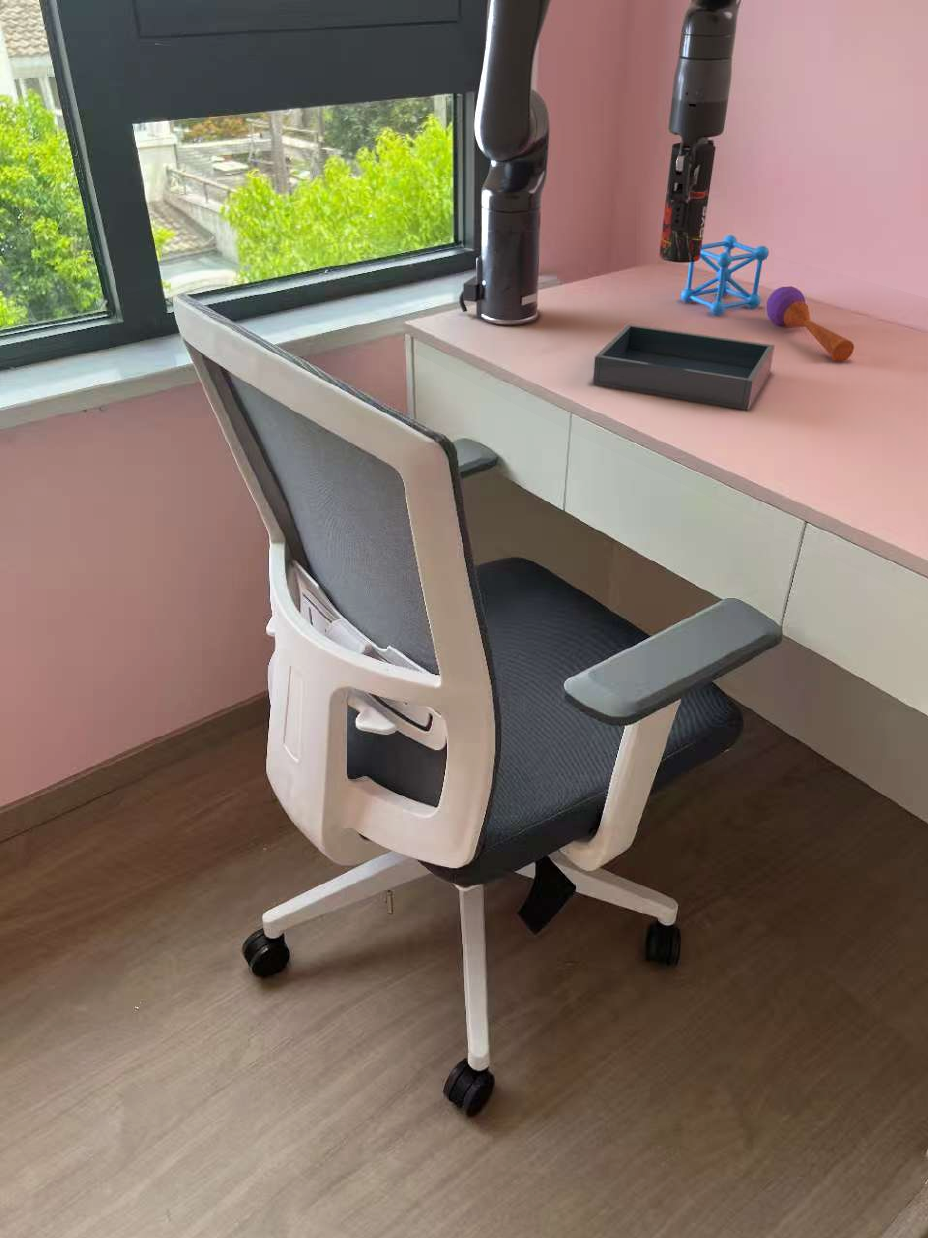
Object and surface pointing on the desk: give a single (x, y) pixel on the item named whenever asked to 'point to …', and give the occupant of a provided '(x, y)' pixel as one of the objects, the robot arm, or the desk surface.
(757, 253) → the molecular structure
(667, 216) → the deodorant
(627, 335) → the dark grey tray
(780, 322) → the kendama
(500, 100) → the robot arm
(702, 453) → the desk surface
